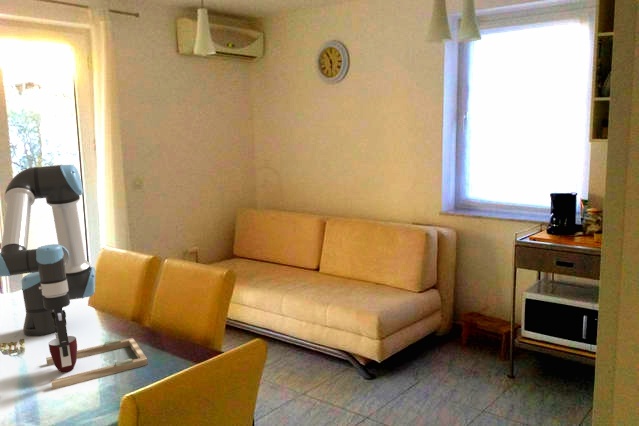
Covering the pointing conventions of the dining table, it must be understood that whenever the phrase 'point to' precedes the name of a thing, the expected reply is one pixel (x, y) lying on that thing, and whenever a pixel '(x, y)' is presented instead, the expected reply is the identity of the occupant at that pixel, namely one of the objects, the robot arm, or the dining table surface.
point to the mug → (57, 358)
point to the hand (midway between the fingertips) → (64, 359)
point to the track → (105, 370)
